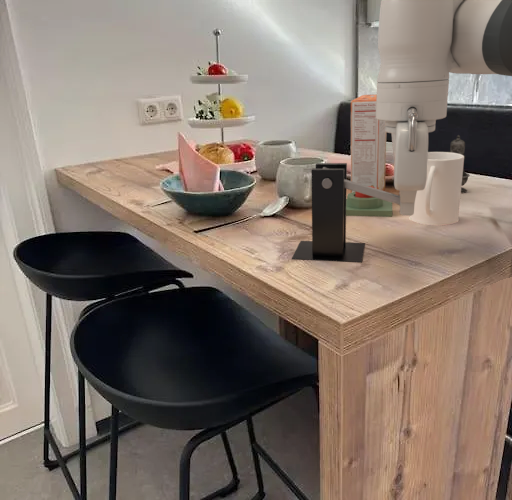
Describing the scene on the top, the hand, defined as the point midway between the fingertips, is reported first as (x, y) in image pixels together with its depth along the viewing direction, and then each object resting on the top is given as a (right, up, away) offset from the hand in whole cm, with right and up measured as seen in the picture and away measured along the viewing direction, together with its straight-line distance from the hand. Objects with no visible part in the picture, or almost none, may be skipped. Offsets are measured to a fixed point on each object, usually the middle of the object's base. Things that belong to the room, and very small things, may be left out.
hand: (406, 207), depth 70 cm
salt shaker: (+22, +7, +40) cm, 46 cm away
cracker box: (+3, +5, +37) cm, 38 cm away
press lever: (-6, +2, +1) cm, 6 cm away
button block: (0, +1, +25) cm, 25 cm away
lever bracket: (-10, -7, +5) cm, 13 cm away
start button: (0, +4, +24) cm, 24 cm away
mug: (+9, -2, +17) cm, 20 cm away
